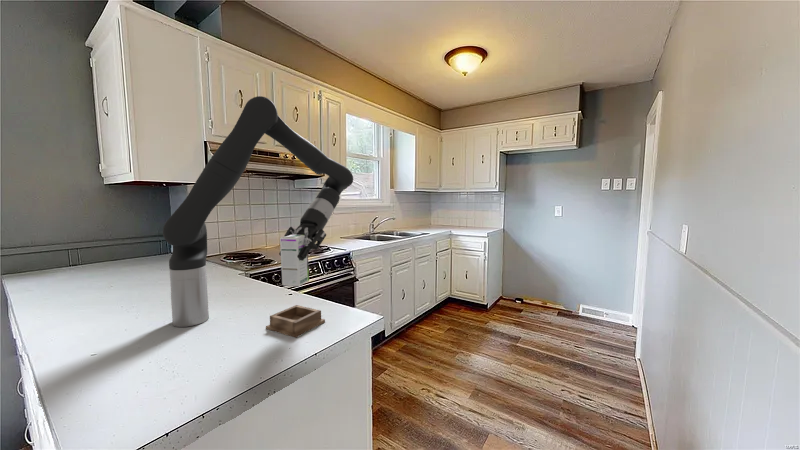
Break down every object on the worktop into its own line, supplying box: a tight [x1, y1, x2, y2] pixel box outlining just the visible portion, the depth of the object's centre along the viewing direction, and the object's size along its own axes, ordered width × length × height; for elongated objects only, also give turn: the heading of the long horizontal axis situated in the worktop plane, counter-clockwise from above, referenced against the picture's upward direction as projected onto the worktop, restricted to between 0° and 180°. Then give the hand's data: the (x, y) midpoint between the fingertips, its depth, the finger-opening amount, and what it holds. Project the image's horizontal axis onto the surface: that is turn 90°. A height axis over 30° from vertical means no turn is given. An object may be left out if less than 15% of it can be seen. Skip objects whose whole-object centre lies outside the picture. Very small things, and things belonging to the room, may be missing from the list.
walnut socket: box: [265, 304, 326, 339], centre depth 92 cm, size 12×12×4 cm
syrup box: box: [279, 234, 310, 287], centre depth 90 cm, size 6×6×14 cm
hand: (290, 257), depth 89 cm, fingers closed on syrup box, 6 cm apart
